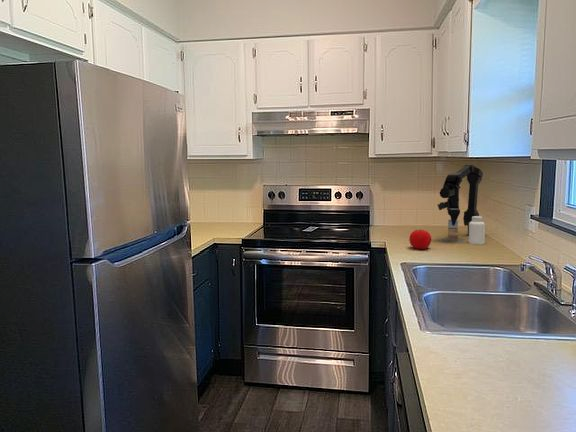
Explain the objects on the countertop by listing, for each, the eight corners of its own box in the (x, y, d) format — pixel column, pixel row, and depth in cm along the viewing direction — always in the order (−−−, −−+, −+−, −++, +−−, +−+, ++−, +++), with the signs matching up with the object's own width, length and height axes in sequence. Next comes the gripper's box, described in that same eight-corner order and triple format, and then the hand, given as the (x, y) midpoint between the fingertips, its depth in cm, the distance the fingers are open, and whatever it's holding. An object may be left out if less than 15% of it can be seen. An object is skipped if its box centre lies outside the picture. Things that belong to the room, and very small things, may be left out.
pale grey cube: (448, 225, 265) (448, 219, 264) (457, 225, 263) (457, 219, 263) (448, 227, 260) (448, 220, 260) (457, 227, 258) (457, 220, 258)
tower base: (447, 239, 266) (448, 233, 265) (457, 239, 264) (457, 233, 264) (448, 241, 261) (448, 234, 260) (457, 241, 259) (457, 235, 259)
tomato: (417, 251, 237) (417, 231, 236) (404, 247, 249) (404, 228, 248) (436, 249, 240) (436, 230, 239) (423, 245, 252) (423, 227, 251)
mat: (440, 239, 270) (440, 238, 270) (462, 240, 266) (462, 239, 266) (440, 242, 259) (440, 241, 259) (463, 243, 256) (463, 242, 256)
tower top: (448, 233, 265) (448, 227, 265) (457, 233, 264) (457, 227, 263) (448, 234, 260) (448, 228, 260) (457, 235, 259) (457, 228, 258)
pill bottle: (483, 242, 256) (484, 215, 255) (485, 245, 249) (486, 217, 247) (467, 242, 258) (468, 215, 257) (469, 245, 251) (470, 217, 249)
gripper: (438, 195, 271) (437, 222, 273) (438, 198, 253) (438, 226, 255) (458, 195, 267) (458, 222, 269) (460, 198, 250) (459, 227, 252)
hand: (453, 224), depth 261 cm, fingers closed on pale grey cube, 5 cm apart
